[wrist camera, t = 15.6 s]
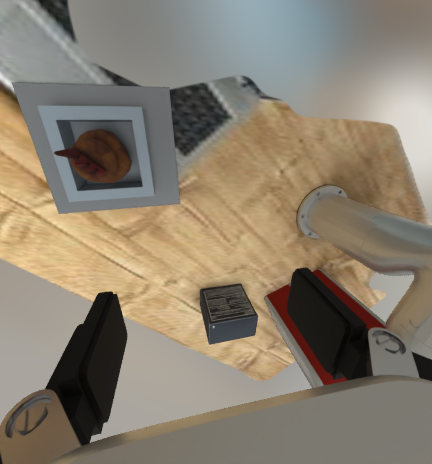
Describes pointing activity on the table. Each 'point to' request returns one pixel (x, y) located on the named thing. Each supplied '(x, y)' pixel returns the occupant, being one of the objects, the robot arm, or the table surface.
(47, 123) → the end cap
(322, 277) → the red striped mailbox
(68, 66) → the table surface
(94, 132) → the wooden figurine
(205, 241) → the table surface
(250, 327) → the small box
